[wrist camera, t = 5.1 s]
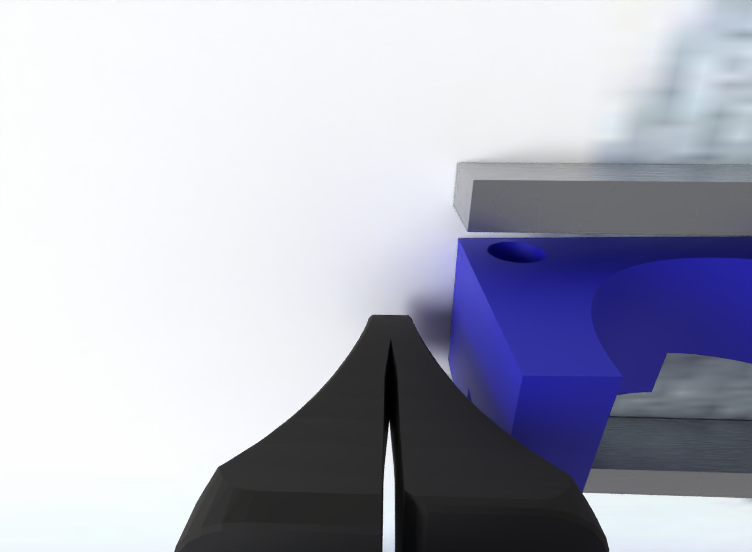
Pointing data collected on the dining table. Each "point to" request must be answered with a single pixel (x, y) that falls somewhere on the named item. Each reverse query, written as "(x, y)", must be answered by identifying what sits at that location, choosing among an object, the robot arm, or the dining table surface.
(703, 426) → the rail bracket
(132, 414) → the dining table surface
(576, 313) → the blue stepped block
